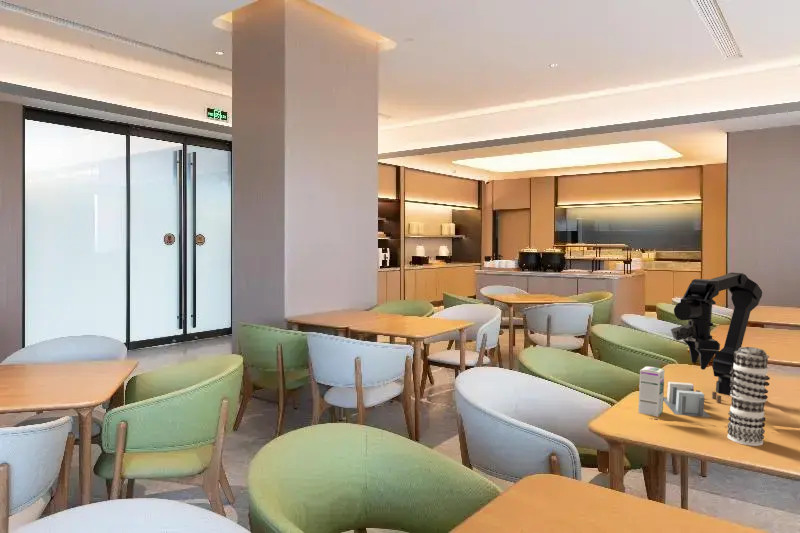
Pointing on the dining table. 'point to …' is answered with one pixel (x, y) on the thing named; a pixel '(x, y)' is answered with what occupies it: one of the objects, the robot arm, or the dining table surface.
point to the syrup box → (651, 391)
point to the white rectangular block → (679, 387)
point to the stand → (714, 396)
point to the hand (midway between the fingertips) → (698, 365)
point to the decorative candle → (748, 396)
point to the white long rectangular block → (689, 401)
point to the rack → (684, 404)
